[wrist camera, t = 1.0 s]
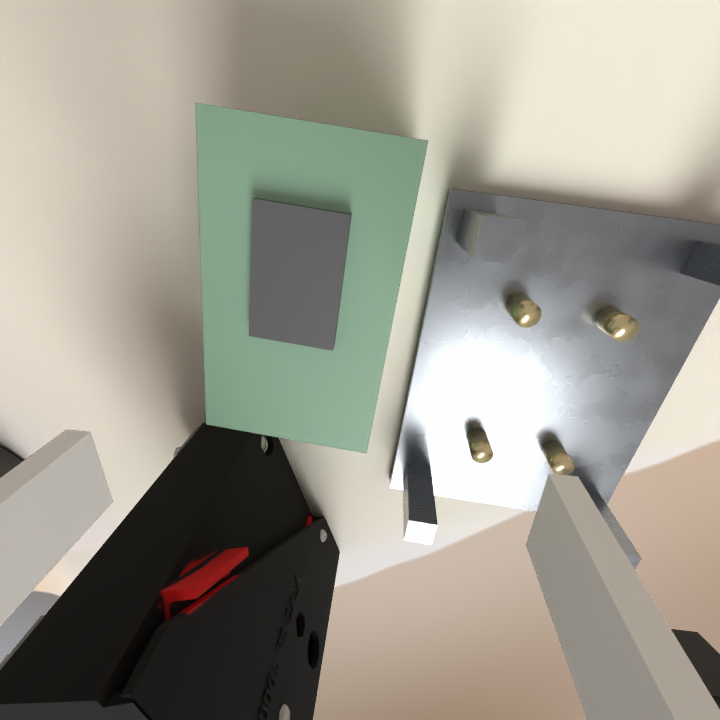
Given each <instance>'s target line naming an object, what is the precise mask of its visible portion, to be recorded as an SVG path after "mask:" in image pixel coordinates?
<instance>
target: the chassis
mask: <svg viewBox="0 0 720 720" xmlns="http://www.w3.org/2000/svg"><path fill="white" fill-rule="evenodd" d="M719 298H720V225H716V224H709V223H701V222H694V221H687V220H679V219H672V218H664V217H657V216H650V215H642V214H635V213H627V212H620V211H613V210H605V209H598V208H590V207H583V206H576V205H568V204H561V203H553V202H546V201H539V200H531V199H524V198H516V197H509V196H502V195H494V194H487V193H479V192H472V191H465V190H457V189H449V193H448V198H447V203H446V208H445V213H444V218H443V223H442V228H441V232H440V237H439V242H438V247H437V252H436V257H435V262H434V267H433V272H432V277H431V281H430V286H429V291H428V296H427V301H426V306H425V311H424V316H423V321H422V326H421V330H420V335H419V340H418V345H417V350H416V355H415V360H414V365H413V370H412V375H411V379H410V384H409V389H408V394H407V399H406V404H405V409H404V414H403V419H402V424H401V428H400V433H399V438H398V443H397V448H396V453H395V458H394V463H393V468H392V473H391V477H390V488H392V489H399V490H403V511H404V540H405V541H411V542H417V543H423V544H429V545H432V542H433V539H434V535H435V532H436V528H437V517H436V508H435V499H434V495H436V496H442V497H448V498H454V499H461V500H467V501H473V502H479V503H485V504H492V505H498V506H504V507H510V508H516V509H523V510H529V511H535V512H537V509H538V506H539V503H540V499H541V496H542V493H543V490H544V487H545V484H546V480H547V477H548V474H557V475H568V476H578V477H579V479H580V481H581V482H582V484H583V485H584V487H585V489H586V490H587V492H588V494H589V495H590V497H591V499H592V500H593V502H594V504H595V505H596V507H597V509H598V510H599V512H600V513H601V515H602V517H603V518H604V520H605V522H606V523H607V525H608V527H609V528H610V530H611V532H612V533H613V535H614V536H615V538H616V540H617V541H618V543H619V545H620V546H621V548H622V550H623V551H624V553H625V555H626V556H627V558H628V559H629V561H630V563H631V564H632V566H633V568H634V569H635V568H636V566H637V565H638V563H639V562H640V560H641V559H642V558H641V557H640V555H639V554H638V552H637V551H636V549H635V548H634V546H633V545H632V543H631V541H630V540H629V538H628V537H627V536H626V534H625V532H624V531H623V529H622V528H621V526H620V525H619V523H618V521H617V520H616V518H615V517H614V515H613V514H612V512H611V511H610V509H609V508H608V506H607V503H608V501H609V500H610V498H611V496H612V494H613V492H614V490H615V489H616V487H617V485H618V483H619V481H620V480H621V477H622V476H623V474H624V472H625V470H626V469H627V467H628V465H629V463H630V461H631V459H632V458H633V456H634V454H635V452H636V450H637V448H638V447H639V445H640V443H641V441H642V439H643V438H644V436H645V434H646V432H647V430H648V428H649V427H650V425H651V423H652V421H653V419H654V417H655V416H656V414H657V412H658V410H659V408H660V406H661V405H662V403H663V401H664V399H665V397H666V395H667V394H668V392H669V390H670V388H671V386H672V384H673V383H674V381H675V379H676V377H677V375H678V373H679V372H680V370H681V368H682V366H683V364H684V362H685V361H686V359H687V357H688V355H689V353H690V351H691V350H692V348H693V346H694V344H695V342H696V340H697V339H698V337H699V335H700V333H701V331H702V329H703V328H704V326H705V324H706V322H707V320H708V318H709V317H710V315H711V313H712V311H713V309H714V307H715V306H716V304H717V302H718V300H719Z"/></svg>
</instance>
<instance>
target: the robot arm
mask: <svg viewBox="0 0 720 720" xmlns="http://www.w3.org/2000/svg"><path fill="white" fill-rule="evenodd" d="M112 502H113V500H112V497H111V494H110V491H109V488H108V485H107V481H106V478H105V475H104V472H103V469H102V466H101V463H100V460H99V457H98V454H97V451H96V447H95V444H94V441H93V438H92V435H91V432H86V431H75V430H65V431H64V432H62V433H61V434H60V435H58V436H57V437H55V438H54V439H53V440H51V441H50V442H49V443H47V444H46V445H45V446H43V447H42V448H41V449H39V450H38V451H36V452H35V453H34V454H32V455H31V456H30V457H28V458H27V459H26V460H24V461H21V460H20V459H19V458H17V457H16V456H14V455H13V454H12V453H10V452H8V451H7V450H5V449H3V448H2V447H0V626H1V625H2V624H3V623H4V621H5V620H6V619H7V618H8V617H9V616H10V615H11V614H12V613H13V612H14V611H15V609H16V608H17V607H18V606H19V605H20V604H21V603H22V602H23V601H24V599H25V598H26V597H27V596H28V595H29V594H30V593H31V592H32V591H33V590H34V588H35V587H36V586H37V585H38V584H39V583H40V582H41V581H42V580H43V578H44V577H45V576H46V575H47V574H48V573H49V572H50V571H51V570H52V569H53V567H54V566H55V565H56V564H57V563H58V562H59V561H60V560H61V559H62V557H63V556H64V555H65V554H66V553H67V552H68V551H69V550H70V549H71V548H72V546H73V545H74V544H75V543H76V542H77V541H78V540H79V539H80V538H81V536H82V535H83V534H84V533H85V532H86V531H87V530H88V529H89V528H90V526H91V525H92V524H93V523H94V522H95V521H96V520H97V519H98V518H99V517H100V515H101V514H102V513H103V512H104V511H105V510H106V509H107V508H108V507H109V505H110V504H111V503H112ZM526 546H527V549H528V552H529V555H530V557H531V560H532V563H533V566H534V569H535V572H536V575H537V578H538V581H539V583H540V586H541V589H542V592H543V594H544V598H545V600H546V603H547V606H548V609H549V612H550V615H551V618H552V621H553V623H554V626H555V629H556V632H557V635H558V638H559V641H560V644H561V646H562V649H563V652H564V655H565V658H566V661H567V664H568V666H569V669H570V672H571V675H572V678H573V681H574V684H575V687H576V689H577V692H578V695H579V698H580V701H581V704H582V707H583V709H584V712H585V715H586V718H587V720H720V654H719V653H718V652H717V651H716V650H715V649H714V648H713V647H712V646H711V645H710V644H709V643H708V642H707V641H706V640H705V639H704V638H703V637H702V636H701V635H700V634H699V633H697V632H692V631H683V630H675V629H670V627H669V625H668V624H667V622H666V620H665V619H664V617H663V615H662V614H661V612H660V611H659V609H658V607H657V606H656V604H655V602H654V601H653V599H652V597H651V596H650V594H649V592H648V591H647V589H646V587H645V586H644V584H643V583H642V581H641V579H640V578H639V576H638V574H637V573H636V571H635V569H634V568H633V566H632V564H631V563H630V561H629V559H628V558H627V556H626V555H625V553H624V551H623V550H622V548H621V546H620V545H619V543H618V541H617V540H616V538H615V536H614V535H613V533H612V532H611V530H610V528H609V527H608V525H607V523H606V522H605V520H604V518H603V517H602V515H601V513H600V512H599V510H598V509H597V507H596V505H595V504H594V502H593V500H592V499H591V497H590V495H589V494H588V492H587V490H586V489H585V487H584V485H583V484H582V482H581V481H580V479H579V477H578V476H568V475H557V474H548V477H547V480H546V484H545V487H544V490H543V493H542V496H541V499H540V503H539V506H538V509H537V512H536V515H535V519H534V522H533V525H532V528H531V531H530V534H529V537H528V540H527V544H526Z"/></svg>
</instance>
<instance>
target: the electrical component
mask: <svg viewBox="0 0 720 720" xmlns="http://www.w3.org/2000/svg"><path fill="white" fill-rule="evenodd" d="M339 553H340V552H339V549H338V547H337V545H336V542H335V540H334V538H333V535H332V533H331V531H330V529H329V526H328V524H327V522H326V520H325V519H324V517H322V518H318V519H317V520H314V519H313V517H312V514H311V512H310V510H309V507H308V505H307V503H306V501H305V498H304V496H303V494H302V491H301V489H300V487H299V484H298V482H297V480H296V478H295V475H294V473H293V471H292V468H291V466H290V464H289V461H288V459H287V457H286V455H285V452H284V450H283V448H282V445H281V443H280V441H279V438H278V437H273V436H268V435H262V434H257V433H251V432H245V431H240V430H234V429H229V428H223V427H218V426H212V425H207V424H206V422H205V423H203V424H202V425H201V426H200V427H199V428H196V430H195V431H194V432H193V433H192V434H191V436H190V437H189V438H188V439H187V441H186V442H185V443H184V444H183V445H182V447H178V448H176V450H175V453H174V459H173V460H172V461H171V463H170V464H169V465H168V466H167V468H166V469H165V470H164V471H163V472H162V474H161V475H160V476H159V477H158V478H157V480H156V481H155V482H154V483H153V485H152V486H151V487H150V488H149V489H148V491H147V492H146V493H145V494H144V496H143V497H142V498H141V499H140V500H139V502H138V503H137V504H136V505H135V506H134V508H133V509H132V510H131V511H130V513H129V514H128V515H127V516H126V517H125V519H124V520H123V521H122V522H121V524H120V525H119V526H118V527H117V528H116V530H115V531H114V532H113V533H112V535H111V536H110V537H109V538H108V539H107V541H106V542H105V543H104V544H103V545H102V547H101V548H100V549H99V550H98V552H97V553H96V554H95V555H94V556H93V558H92V559H91V560H90V561H89V563H88V564H87V565H86V566H85V567H84V569H83V570H82V571H81V572H80V573H79V575H78V576H77V577H76V578H75V580H74V581H73V582H72V583H71V584H70V586H69V587H68V588H67V589H66V591H65V592H64V593H63V594H62V595H61V597H60V598H59V599H58V600H57V602H56V603H55V604H54V605H53V606H52V608H51V609H50V610H49V611H48V613H47V614H46V615H45V616H41V617H40V618H39V619H38V620H37V621H36V623H35V624H34V625H33V626H32V627H31V629H30V630H29V631H28V632H27V634H26V635H25V636H24V637H23V638H22V640H21V641H20V642H19V643H18V644H17V646H16V647H15V648H14V649H13V650H12V652H11V653H10V654H8V655H6V657H5V658H4V659H3V660H2V661H1V663H0V720H313V714H314V708H315V702H316V696H317V689H318V683H319V677H320V670H321V664H322V658H323V652H324V646H325V640H326V633H327V627H328V621H329V615H330V608H331V602H332V596H333V590H334V584H335V578H336V571H337V565H338V559H339Z"/></svg>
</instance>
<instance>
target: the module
mask: <svg viewBox="0 0 720 720" xmlns="http://www.w3.org/2000/svg"><path fill="white" fill-rule="evenodd" d="M195 105H196V136H197V166H198V197H199V227H200V258H201V289H202V319H203V350H204V381H205V411H206V424H207V425H212V426H218V427H223V428H229V429H234V430H240V431H245V432H251V433H257V434H262V435H268V436H273V437H279V438H284V439H290V440H295V441H301V442H306V443H312V444H317V445H323V446H328V447H334V448H339V449H345V450H350V451H356V452H361V453H367V449H368V444H369V439H370V434H371V429H372V424H373V419H374V414H375V409H376V403H377V399H378V394H379V388H380V383H381V378H382V373H383V368H384V363H385V358H386V353H387V348H388V343H389V337H390V332H391V327H392V322H393V317H394V312H395V307H396V302H397V297H398V292H399V287H400V282H401V276H402V271H403V266H404V261H405V256H406V251H407V246H408V241H409V236H410V231H411V226H412V221H413V216H414V210H415V205H416V200H417V195H418V190H419V185H420V180H421V175H422V170H423V165H424V160H425V155H426V150H427V144H428V140H421V139H415V138H409V137H403V136H397V135H391V134H384V133H378V132H372V131H366V130H360V129H354V128H347V127H341V126H335V125H329V124H323V123H317V122H310V121H304V120H298V119H292V118H286V117H280V116H274V115H267V114H261V113H255V112H249V111H243V110H237V109H230V108H224V107H218V106H212V105H206V104H200V103H195Z"/></svg>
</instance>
